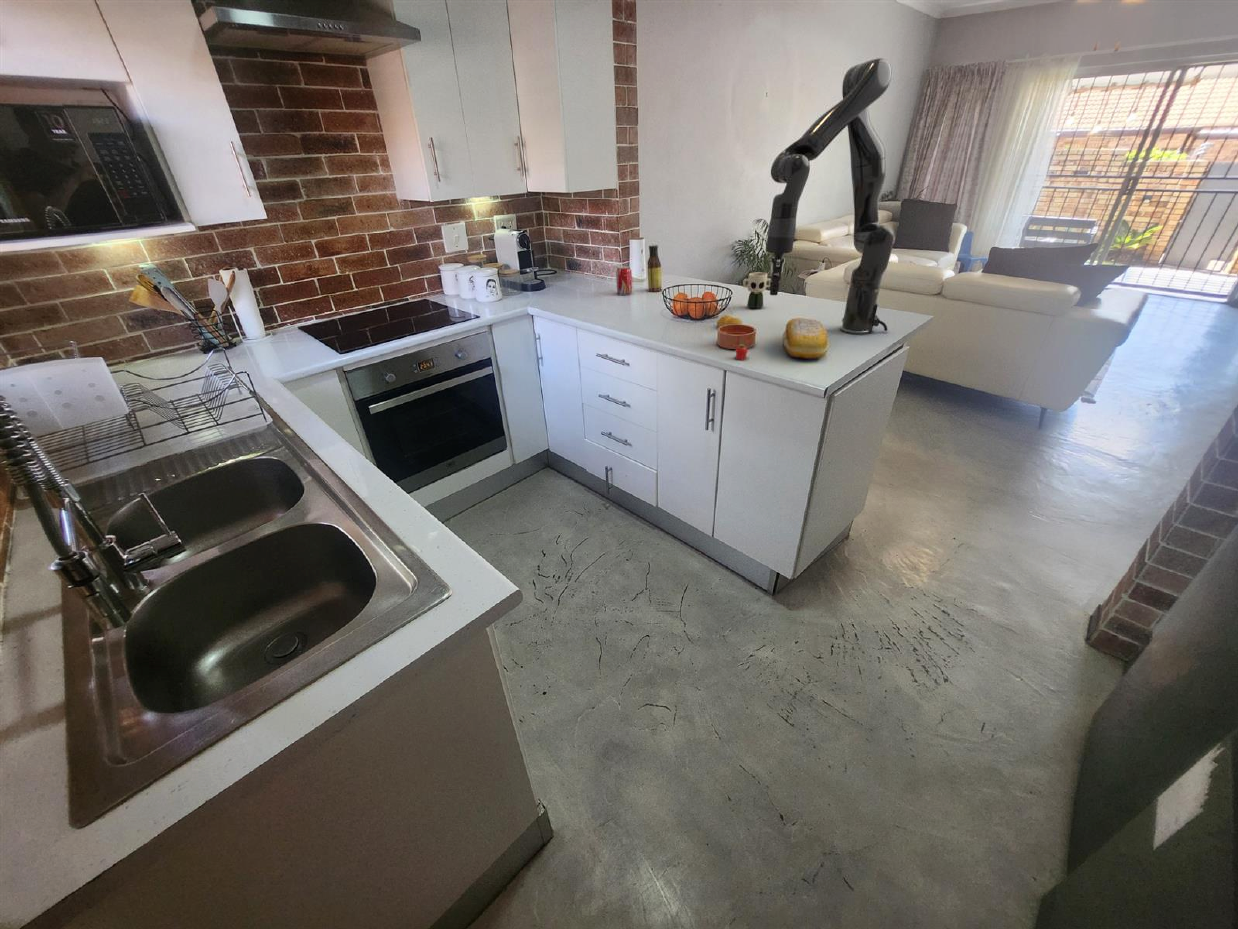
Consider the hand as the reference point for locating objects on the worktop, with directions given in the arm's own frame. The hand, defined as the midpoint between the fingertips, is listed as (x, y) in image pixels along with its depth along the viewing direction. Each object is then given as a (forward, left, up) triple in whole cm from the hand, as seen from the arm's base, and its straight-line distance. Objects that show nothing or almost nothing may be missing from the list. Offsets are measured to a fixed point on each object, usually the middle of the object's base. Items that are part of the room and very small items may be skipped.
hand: (773, 291), depth 155 cm
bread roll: (+13, -20, -18) cm, 30 cm away
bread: (-11, 0, -18) cm, 21 cm away
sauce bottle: (+50, -76, -18) cm, 93 cm away
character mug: (+4, -48, -18) cm, 52 cm away
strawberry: (+8, +12, -17) cm, 22 cm away
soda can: (+63, -69, -18) cm, 95 cm away
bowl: (+10, -1, -17) cm, 20 cm away
